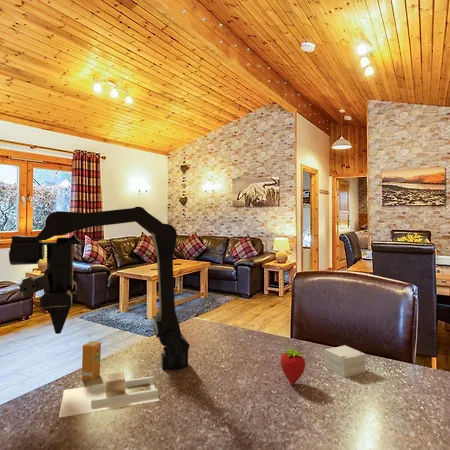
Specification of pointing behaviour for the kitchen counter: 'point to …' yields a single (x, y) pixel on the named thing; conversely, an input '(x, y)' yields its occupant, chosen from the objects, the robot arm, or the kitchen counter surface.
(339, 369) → the small box
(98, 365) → the supplement box
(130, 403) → the trough
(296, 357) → the strawberry
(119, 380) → the wooden block
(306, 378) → the kitchen counter surface
